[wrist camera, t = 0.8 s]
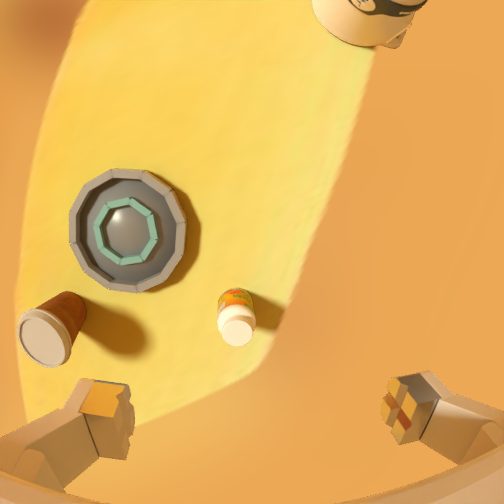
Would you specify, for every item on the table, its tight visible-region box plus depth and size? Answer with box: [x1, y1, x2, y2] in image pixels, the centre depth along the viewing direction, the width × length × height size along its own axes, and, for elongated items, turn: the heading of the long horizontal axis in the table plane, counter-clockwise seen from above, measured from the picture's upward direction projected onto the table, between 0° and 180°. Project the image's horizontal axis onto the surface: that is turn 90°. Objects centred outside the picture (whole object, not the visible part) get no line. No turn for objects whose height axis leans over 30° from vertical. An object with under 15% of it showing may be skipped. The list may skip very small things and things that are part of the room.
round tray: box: [69, 169, 187, 293], centre depth 45 cm, size 18×18×2 cm
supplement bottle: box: [217, 288, 256, 346], centre depth 46 cm, size 5×5×10 cm
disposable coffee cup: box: [17, 291, 87, 368], centre depth 43 cm, size 10×10×12 cm
